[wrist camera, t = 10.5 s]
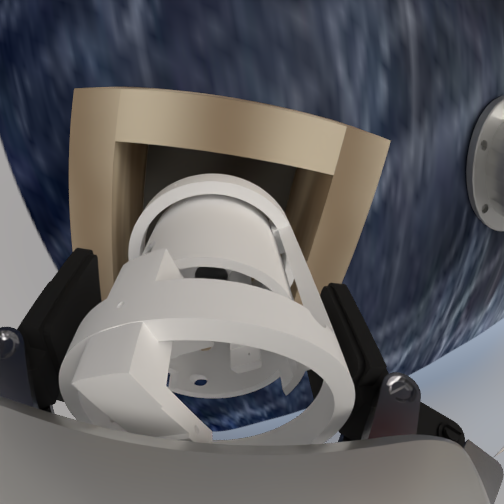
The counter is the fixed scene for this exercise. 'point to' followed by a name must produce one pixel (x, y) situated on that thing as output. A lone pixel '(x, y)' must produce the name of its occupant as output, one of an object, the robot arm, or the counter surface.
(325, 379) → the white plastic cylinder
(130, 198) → the beech holder block
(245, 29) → the counter surface
